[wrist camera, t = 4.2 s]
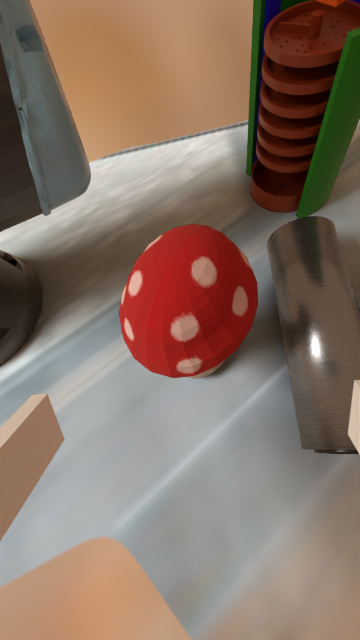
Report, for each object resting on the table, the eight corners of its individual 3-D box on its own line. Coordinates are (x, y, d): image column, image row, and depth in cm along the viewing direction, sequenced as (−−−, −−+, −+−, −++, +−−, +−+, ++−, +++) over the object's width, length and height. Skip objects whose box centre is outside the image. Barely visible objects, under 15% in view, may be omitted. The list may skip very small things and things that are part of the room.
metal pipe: (294, 450, 22) (315, 455, 17) (263, 259, 30) (270, 219, 24) (375, 449, 22) (424, 454, 16) (323, 252, 29) (344, 209, 23)
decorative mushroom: (221, 415, 24) (209, 392, 11) (141, 373, 27) (49, 311, 13) (264, 320, 27) (298, 203, 13) (187, 290, 30) (149, 167, 16)
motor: (229, 189, 34) (225, -91, 16) (274, 145, 36) (319, -158, 17) (301, 228, 30) (405, -83, 12) (349, 177, 32) (507, -170, 13)
